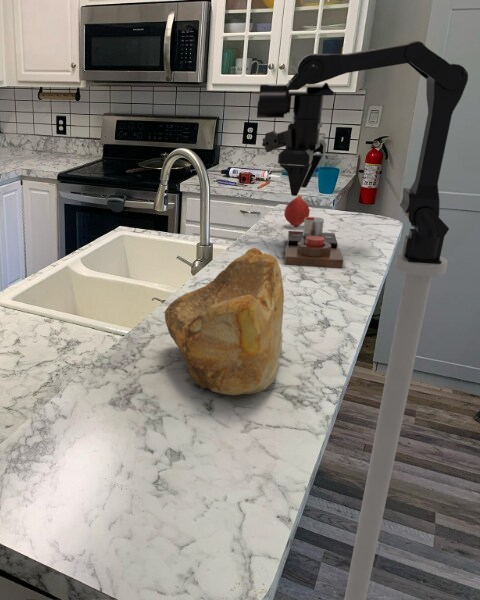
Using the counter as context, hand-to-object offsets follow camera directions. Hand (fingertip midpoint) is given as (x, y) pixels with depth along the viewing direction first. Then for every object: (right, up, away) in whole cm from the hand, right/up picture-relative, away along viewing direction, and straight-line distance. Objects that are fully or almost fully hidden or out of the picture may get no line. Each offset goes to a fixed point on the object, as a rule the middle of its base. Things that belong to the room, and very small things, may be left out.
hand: (299, 191), depth 135 cm
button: (+1, -13, -7) cm, 14 cm away
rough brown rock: (-28, -33, -46) cm, 63 cm away
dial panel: (+3, -12, +2) cm, 13 cm away
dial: (+3, -10, +1) cm, 11 cm away
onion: (+6, -6, +18) cm, 20 cm away
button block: (+1, -16, -6) cm, 17 cm away
